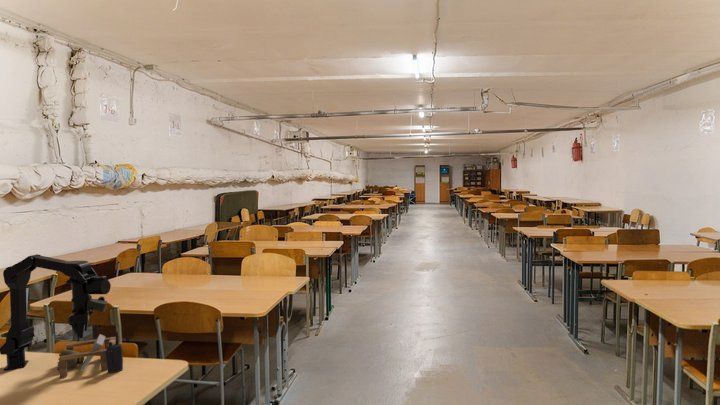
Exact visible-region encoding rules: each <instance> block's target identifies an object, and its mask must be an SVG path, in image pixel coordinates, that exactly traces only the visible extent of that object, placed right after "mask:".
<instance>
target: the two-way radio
mask: <svg viewBox="0 0 720 405" xmlns="http://www.w3.org/2000/svg"><path fill="white" fill-rule="evenodd" d="M115 337H116V342H115V344H114V345H112V342H109V346H108V347H107V350H106V358H107V370H106V371H107V373H109V374H111V373H116V372H120V371H122V370H123V369H124V365H123V364H124V359H123V358H124V356H123V354H124V350H123V346H122V344H121V343H120V342H119V341H120V340H119V331H118V330H116V331H115Z"/></svg>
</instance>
